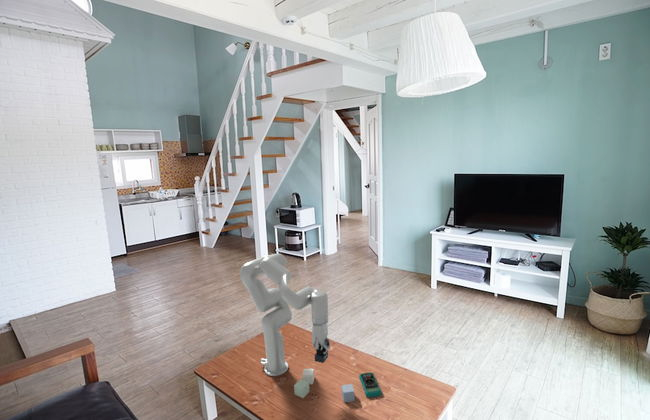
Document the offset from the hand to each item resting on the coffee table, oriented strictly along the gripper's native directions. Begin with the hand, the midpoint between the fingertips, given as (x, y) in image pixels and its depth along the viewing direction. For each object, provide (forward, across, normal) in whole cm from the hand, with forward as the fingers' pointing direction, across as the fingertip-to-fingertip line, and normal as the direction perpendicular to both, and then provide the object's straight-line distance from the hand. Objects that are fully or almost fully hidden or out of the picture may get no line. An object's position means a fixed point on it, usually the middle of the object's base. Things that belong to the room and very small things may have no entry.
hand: (321, 354), depth 160 cm
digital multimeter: (+19, -8, +21) cm, 30 cm away
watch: (+3, 0, 0) cm, 3 cm away
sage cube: (+19, +4, -9) cm, 22 cm away
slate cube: (+19, +2, +13) cm, 23 cm away
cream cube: (+19, -5, -9) cm, 22 cm away
